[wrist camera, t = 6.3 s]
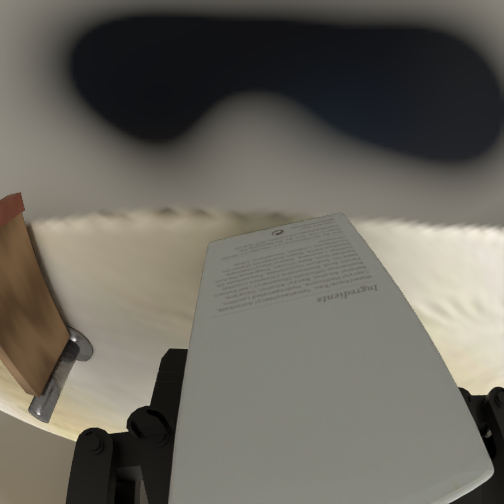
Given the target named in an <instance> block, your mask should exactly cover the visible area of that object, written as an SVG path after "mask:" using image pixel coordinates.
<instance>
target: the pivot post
mask: <svg viewBox="0 0 504 504" xmlns="http://www.w3.org/2000/svg"><path fill="white" fill-rule="evenodd" d="M65 327H66V329H67V331H68V333H69V335H70V338H69V340H68V342H67V343H66V345H65V347H64V349H63V351H62V353H61V355H60V356H59V358H58V360H57V362H56V364H55V366H54V368H53V370H52V372H51V374H50V376H49V378H48V380H47V382H46V384H45V386H44V389H43V391H42V393H41V395H40V397H36V396H34V398H33V400H32V402H31V404H30V406H29V409H28V411H29V412H30V413H31V414H32V415H33V416H34V417H35V418H37V419H38V420H40V421H42V422H44V423H49V420H50V418H51V415H52V413H53V410H54V408H55V405H56V403H57V400H58V398H59V396H60V393H61V391H62V389H63V386H64V384H65V382H66V380H67V378H68V375H69V373H70V371H71V369H72V367H73V365H74V363H75V360H78V361H87V360H89V359H90V357H91V355H92V353H93V349H92V346H91V344H90V342H89V341H88V340H87V338H86V337H85V336H84V335H82V334H81V333H80V332H78V331H77V330H75V329H73V328H71V327H68V326H65Z"/></svg>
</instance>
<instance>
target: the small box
mask: <svg viewBox="0 0 504 504" xmlns="http://www.w3.org/2000/svg"><path fill="white" fill-rule="evenodd" d="M493 473H494V467H493V464H492V462H491V459H490V457H489V454H488V452H487V450H486V448H485V445H484V443H483V440H482V438H481V435H480V433H479V431H478V428H477V426H476V423H475V421H474V419H473V417H472V415H471V413H470V411H469V409H468V407H467V405H466V402H465V400H464V398H463V396H462V394H461V392H460V390H459V388H458V387H457V385H456V383H455V381H454V379H453V377H452V375H451V374H450V372H449V370H448V368H447V366H446V364H445V362H444V360H443V359H442V357H441V355H440V353H439V351H438V350H437V348H436V346H435V345H434V343H433V341H432V339H431V338H430V336H429V334H428V333H427V331H426V330H425V328H424V326H423V325H422V323H421V321H420V320H419V318H418V317H417V315H416V313H415V312H414V310H413V309H412V307H411V306H410V304H409V302H408V301H407V299H406V298H405V296H404V295H403V293H402V292H401V290H400V289H399V287H398V286H397V285H396V283H395V282H394V280H393V279H392V277H391V276H390V274H389V273H388V272H387V270H386V269H385V268H384V266H383V265H382V263H381V262H380V261H379V259H378V258H377V256H376V255H375V254H374V252H373V251H372V250H371V248H370V247H369V246H368V244H367V243H366V241H365V240H364V239H363V238H362V236H361V235H360V234H359V233H358V231H357V230H356V229H355V228H354V226H353V225H352V224H351V223H350V221H349V220H348V219H347V218H346V216H345V215H344V214H343V213H336V214H332V215H328V216H323V217H318V218H314V219H309V220H305V221H300V222H295V223H291V224H287V225H283V226H278V227H274V228H270V229H265V230H261V231H256V232H252V233H248V234H243V235H239V236H235V237H230V238H226V239H222V240H218V241H213V242H210V243H209V245H208V249H207V254H206V259H205V263H204V268H203V273H202V278H201V283H200V288H199V293H198V298H197V303H196V309H195V314H194V320H193V325H192V331H191V337H190V342H189V348H188V354H187V361H186V366H185V373H184V379H183V385H182V392H181V400H180V406H179V413H178V419H177V426H176V434H175V443H174V452H173V462H172V472H171V481H170V491H169V501H168V504H449V503H450V502H452V501H454V500H456V499H458V498H460V497H461V496H463V495H465V494H467V493H468V492H470V491H472V490H473V489H475V488H476V487H478V486H479V485H481V484H482V483H484V482H485V481H487V480H488V479H489V478H490V477H491V476H492V475H493Z"/></svg>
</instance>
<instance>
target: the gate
mask: <svg viewBox="0 0 504 504" xmlns="http://www.w3.org/2000/svg"><path fill="white" fill-rule="evenodd" d="M24 210H25V208H24V204H23V200H22V196H21V193H16V194H11V195H8V196H6V197H4V198H3V199H1V200H0V359H1V361H2V362H3V364H4V365H5V366H6V368H7V369H8V370H9V372H10V373H11V374H12V376H13V377H14V378H15V380H16V381H17V382H18V383H19V385H20V386H21V387H22V388H23V389H24V391H25V392H26V393H28V394H31V395H34V396H36V397H40V395H41V393H42V391H43V389H44V386H45V384H46V382H47V380H48V378H49V376H50V374H51V372H52V370H53V368H54V366H55V364H56V362H57V360H58V358H59V356H60V355H61V353H62V351H63V349H64V347H65V345H66V343H67V342H68V340H69V338H70V335H69V333H68V331H67V329H66V327H65V325H64V323H63V321H62V319H61V317H60V315H59V312H58V310H57V308H56V306H55V304H54V302H53V299H52V297H51V295H50V292H49V290H48V288H47V285H46V283H45V280H44V278H43V275H42V273H41V270H40V268H39V265H38V262H37V259H36V257H35V254H34V251H33V248H32V245H31V242H30V239H29V235H28V232H27V229H26V225H25V222H24V218H23V215H22V212H23V211H24Z"/></svg>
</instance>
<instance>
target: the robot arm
mask: <svg viewBox="0 0 504 504" xmlns="http://www.w3.org/2000/svg"><path fill="white" fill-rule="evenodd" d="M187 354H188V349H169V350H168V351H167V352H166V354H165V355H164V356H163V357H162V359H161V363H160V367H159V372H158V374H157V378H156V382H155V387H154V391H153V395H152V399H151V403H150V406H144V407H141V408H138V409H136V410H135V411H134V412H133V413H131V415H130V416H129V418H128V420H127V427H126V428H127V429H128V430H129V431H128V432H121V433H113V434H108V433H107V432H106V431H105V430H103V429H100V428H89V429H86V430H84V431H83V432H82V433H81V434H80V435H79V437H78V439H77V442H76V446H75V451H74V457H73V461H72V466H71V472H70V478H69V484H68V491H67V498H66V504H140V484H141V480H143V481H144V486H145V490H146V494H147V499H148V502H149V504H168V501H169V491H170V481H171V472H172V462H173V452H174V443H175V434H176V426H177V419H178V413H179V406H180V400H181V392H182V385H183V379H184V373H185V366H186V361H187ZM458 388H459V390H460V392H461V394H462V396H463V398H464V400H465V402H466V405H467V407H468V409H469V411H470V413H471V415H472V417H473V419H474V421H475V423H476V426H477V428H478V431H479V433H480V435H481V438H482V440H483V443H484V445H485V448H486V450H487V452H488V454H489V457H490V459H491V462H492V464H493V467H494V473H493V475H492V476H491V477H490V478H489V479H488V480H487V481H485V482H484V483H482V484H481V485H479V486H478V487H476V488H475V489H473V490H472V491H470V492H468V493H467V494H465V495H463V496H461V497H460V498H458V499H456V500H454V501H452V502H450V503H449V504H504V388H502V387H495V388H493V389H492V390H491V391H490V392H489V393H488V395H471V394H470V393H469V392H468V391H467V390H465V389H464V388H460V387H458ZM489 430H491V433H492V435H491V436H488V435H487V432H488V431H489Z"/></svg>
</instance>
